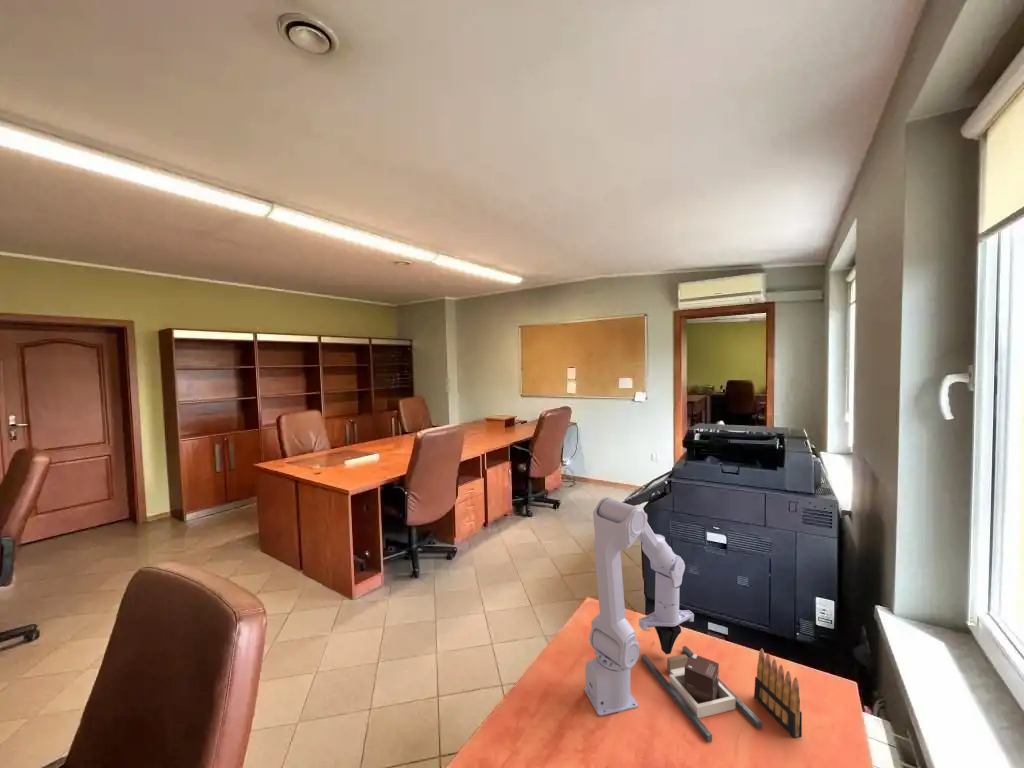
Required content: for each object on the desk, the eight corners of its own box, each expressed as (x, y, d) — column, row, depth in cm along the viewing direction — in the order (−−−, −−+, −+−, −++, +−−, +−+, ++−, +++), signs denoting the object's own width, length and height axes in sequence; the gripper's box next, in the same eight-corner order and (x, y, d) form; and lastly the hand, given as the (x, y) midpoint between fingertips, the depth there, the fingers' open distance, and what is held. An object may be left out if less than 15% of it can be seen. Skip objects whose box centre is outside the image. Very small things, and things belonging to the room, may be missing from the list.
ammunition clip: (753, 697, 95) (755, 646, 94) (760, 696, 95) (762, 644, 95) (794, 739, 84) (796, 681, 84) (802, 737, 85) (804, 680, 84)
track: (707, 743, 84) (707, 735, 83) (641, 660, 107) (641, 654, 107) (761, 728, 87) (762, 721, 87) (685, 651, 110) (685, 645, 110)
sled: (697, 718, 89) (697, 704, 89) (658, 672, 102) (658, 659, 102) (735, 709, 91) (735, 694, 91) (692, 665, 105) (693, 652, 105)
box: (712, 712, 91) (713, 679, 90) (683, 698, 94) (683, 666, 94) (718, 694, 95) (719, 663, 95) (690, 682, 99) (691, 651, 99)
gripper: (681, 587, 112) (680, 636, 113) (632, 594, 109) (632, 646, 109) (700, 601, 106) (698, 654, 106) (648, 610, 102) (647, 665, 103)
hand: (666, 651), depth 107 cm, fingers closed
